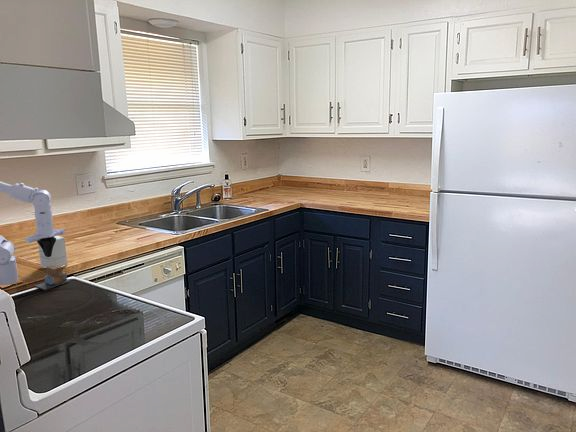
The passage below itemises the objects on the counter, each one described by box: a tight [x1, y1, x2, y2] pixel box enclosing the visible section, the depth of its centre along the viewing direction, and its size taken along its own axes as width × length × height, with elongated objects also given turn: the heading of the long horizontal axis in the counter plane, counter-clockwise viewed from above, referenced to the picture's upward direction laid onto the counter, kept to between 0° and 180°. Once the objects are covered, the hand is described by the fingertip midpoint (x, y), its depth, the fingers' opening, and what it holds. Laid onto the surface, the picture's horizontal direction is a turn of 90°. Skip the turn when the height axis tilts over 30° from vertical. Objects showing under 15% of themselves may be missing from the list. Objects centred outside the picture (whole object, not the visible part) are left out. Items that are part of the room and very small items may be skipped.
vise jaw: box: [44, 274, 54, 285], centre depth 173 cm, size 4×2×3 cm, turn 59°
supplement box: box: [37, 235, 68, 269], centre depth 190 cm, size 7×7×13 cm
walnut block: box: [46, 265, 63, 284], centre depth 175 cm, size 3×4×6 cm
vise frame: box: [34, 271, 71, 291], centre depth 174 cm, size 6×10×3 cm, turn 149°
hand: (48, 256), depth 177 cm, fingers closed
